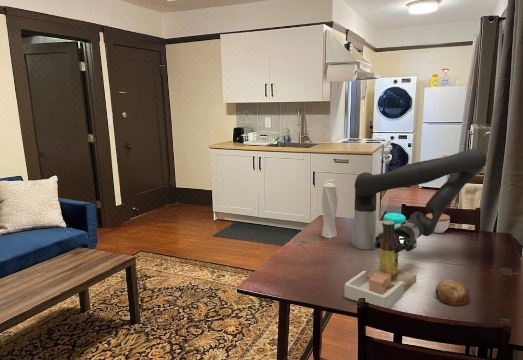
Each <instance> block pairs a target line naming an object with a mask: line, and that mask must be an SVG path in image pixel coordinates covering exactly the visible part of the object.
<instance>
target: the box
mask: <svg viewBox="0 0 523 360" xmlns="http://www.w3.org/2000/svg"><path fill="white" fill-rule="evenodd" d="M367 274H368V271H367V270H363V271H361V272H360V273H358V274H356V275H355V276H354V277H352V278H351V279H350V280H348V281H346V282H345V284H344V289H343V290H344V293H343V294H344V295H343V297H344V298H346V299H348V300H352V301H354V300H355V302H357V301H358V299H359V298H365V300H366V302H368V303H370V304H374V305H378V306H381V307H385V308H388V309H389V308H390V307H391V306H392V305H393V304H395V303H396V301H398V300H399V299H400V298H401V297H402V296H403V295H404V293H403V290H404V282H402V281H400V282H399V283H397V284H396V285H395V286H394V287H393V288H391V289H390V288H386V287H385V293H384V294H383V295H381V294H378V293H375V292H372V291H369V282H367Z"/></svg>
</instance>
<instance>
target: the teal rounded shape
mask: <svg viewBox="0 0 523 360" xmlns="http://www.w3.org/2000/svg"><path fill="white" fill-rule="evenodd" d="M383 220H384V221H388V220H389V221H393V222H395V227H394V229H396V228H398V227H399V226H396V225H402V224H404V223H406V222H405V221H406V216H405V215H404V214H402V213H397V212H389V213H386V214H384V216H383Z"/></svg>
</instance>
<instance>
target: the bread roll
mask: <svg viewBox="0 0 523 360" xmlns="http://www.w3.org/2000/svg"><path fill="white" fill-rule="evenodd" d="M434 293H435V295H434V297H435V298H436V299H438V300H439V301H440V302H443V303H444V304H446V305H450V306H462V305H465V304H466V305H467V303H468V302H469V300H470V290H469V289H468V288H467V287H466V286H465V284H464V283H462V282H460V281H457V280H453V279H442V280H441V281H439V282H438V284H437V285H436V287H435V292H434Z"/></svg>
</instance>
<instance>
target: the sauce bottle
mask: <svg viewBox="0 0 523 360" xmlns="http://www.w3.org/2000/svg"><path fill="white" fill-rule="evenodd" d="M381 226H382V233H383V236H382V237H381V239H380V248H379V265H380V271H381V272H385V273H389V274H391V278H395V277H397V275H398V270H399V253H397V254H396V253H394V248H395V247H396V246H397V245H398V242H397V239H396V237H395V233H394V227H395V226H396V224H395V222H393V221H389V220H388V221H385V220H384V221H382V225H381Z"/></svg>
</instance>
